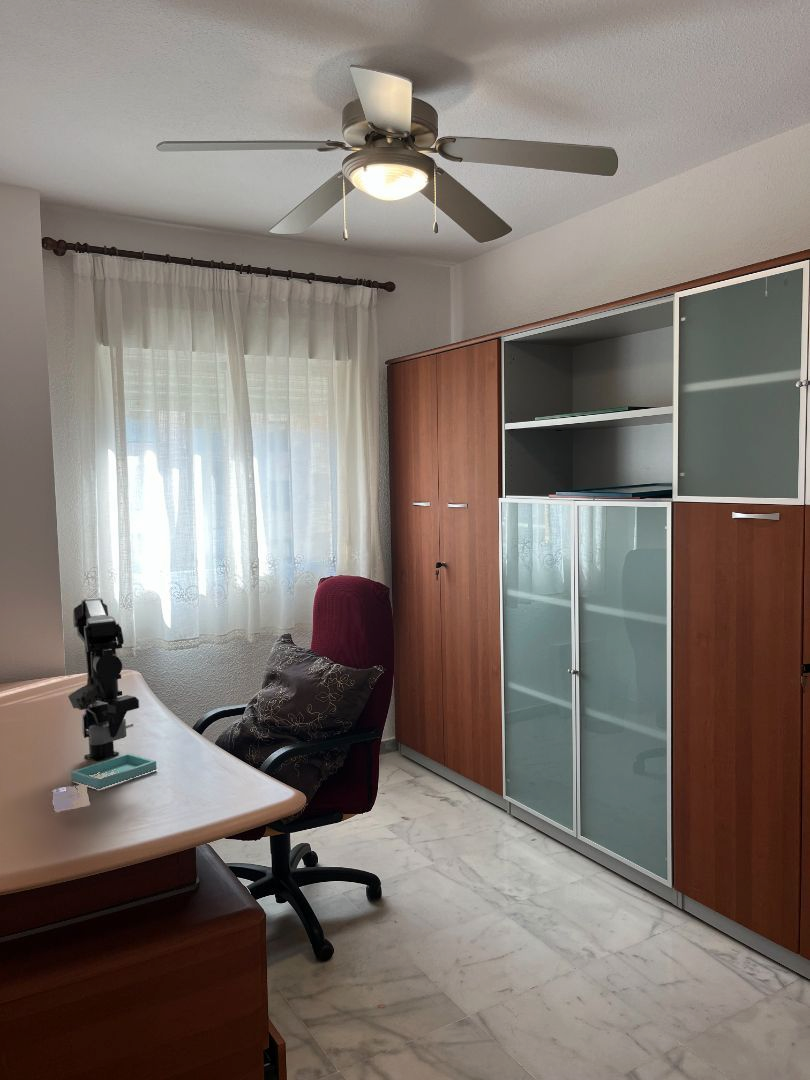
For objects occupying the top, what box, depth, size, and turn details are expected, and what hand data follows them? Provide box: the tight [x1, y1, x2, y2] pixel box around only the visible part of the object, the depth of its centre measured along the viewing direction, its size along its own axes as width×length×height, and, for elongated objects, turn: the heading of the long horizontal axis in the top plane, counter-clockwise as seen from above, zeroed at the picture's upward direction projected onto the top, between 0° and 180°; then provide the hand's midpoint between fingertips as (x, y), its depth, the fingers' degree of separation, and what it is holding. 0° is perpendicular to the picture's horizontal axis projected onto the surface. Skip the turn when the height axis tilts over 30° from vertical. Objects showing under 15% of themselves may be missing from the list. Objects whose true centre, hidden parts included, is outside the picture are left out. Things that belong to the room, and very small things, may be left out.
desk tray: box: [70, 752, 158, 789], centre depth 191 cm, size 12×16×2 cm
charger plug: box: [89, 718, 134, 745], centre depth 191 cm, size 11×4×4 cm, turn 143°
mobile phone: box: [51, 784, 81, 811], centre depth 178 cm, size 8×1×15 cm
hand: (108, 735), depth 190 cm, fingers closed on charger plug, 4 cm apart
